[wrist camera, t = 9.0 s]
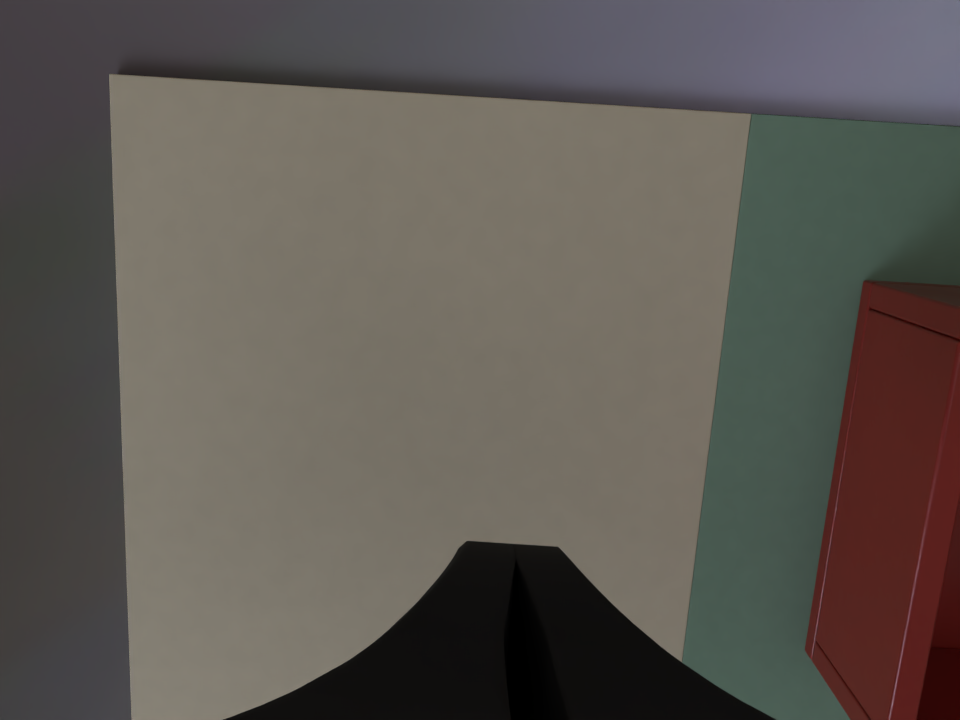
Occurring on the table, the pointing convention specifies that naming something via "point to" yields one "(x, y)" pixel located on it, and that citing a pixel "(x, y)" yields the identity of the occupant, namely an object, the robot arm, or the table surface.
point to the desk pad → (488, 365)
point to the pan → (895, 514)
